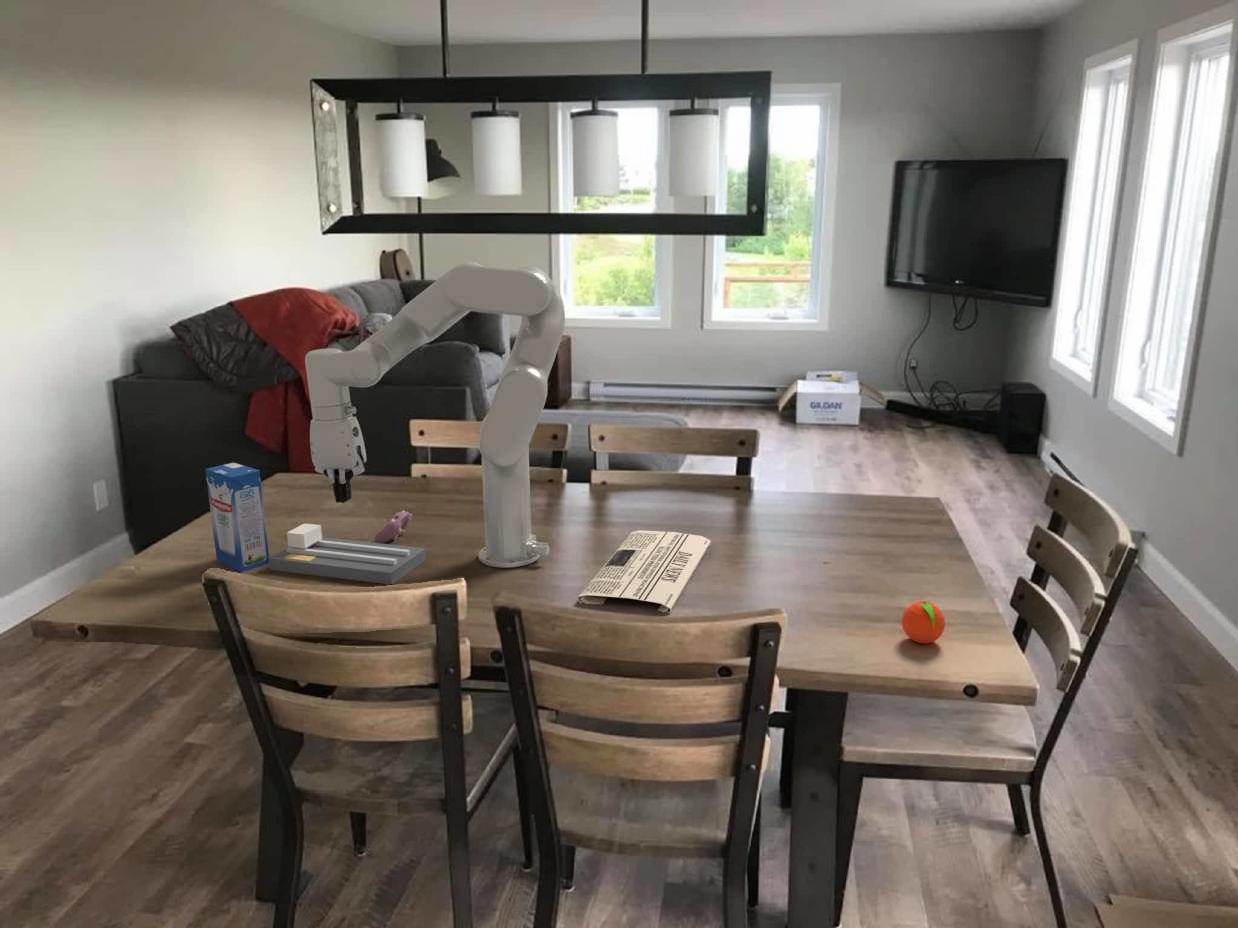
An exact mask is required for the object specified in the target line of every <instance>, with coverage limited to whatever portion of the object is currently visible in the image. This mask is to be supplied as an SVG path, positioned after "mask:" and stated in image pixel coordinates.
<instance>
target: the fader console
mask: <svg viewBox="0 0 1238 928" xmlns="http://www.w3.org/2000/svg"><path fill="white" fill-rule="evenodd" d="M425 561H427V548H424V547H416V546H406V545H398V544H388V543H376V542H372V541H371V542H370V541H361V540H351V539H343V538H334V537H327V536H326V537H324V536H322V539H321V540H319V541H317V542H316V543H314V544H312V545H310V547H308V548H297V547H286V548H285V549H283V550H281V551H280V552H279V551H278V553H276V554H275V553H274V555H271V556H269V564H268V565H269V570H270V571H276V572H286V573H293V574H301V575H308V576H309V575H310V576H318V577H325V578H333V579H334V578H335V579H343V580H350V581H359V582H366V583H373V584H374V583H375V584H383V585H390V584H392V585H394V584H395V583H396V582H397V581H399V580H401V579H402V578H403V577H405V576H406V575H407V574H409V573H411V572H412V571H414V569H416V568H417V567H419V566H420V565H422V564H423V563H424V562H425Z"/></svg>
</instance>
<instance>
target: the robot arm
mask: <svg viewBox="0 0 1238 928" xmlns="http://www.w3.org/2000/svg"><path fill="white" fill-rule="evenodd" d="M470 312H477V313H483V314H496V315H508V316H516V317H517V316H519V317H521V322H520V326H519V329H518V332H517V334H516V337H515V341H514V344H513V347H512V349H511V351H510V355H509V357H508V359H507V362H506V364H505V366H504V368H503V369H502V371H501V373H500V376H499V378H498V384H497V386H496V390H495V393H494V396H493V399H492V401H491V404H490V407H489V409H488V412H487V414H486V415H485V416H484V418H483V420H482V422H481V423H480V428H479V434H478V440H477V444H478V449H479V452H480V454H481V466H482V467H481V472H482V474H481V475H482V497H483V518H484V537H485V546H484V547H483V548H482V549H481V550H479V552H478V560H479V562H480V563H482V564H484V565H486V566H489V567H493V568H502V569H505V568H509V569H510V568H518V567H524V566H526V565H530V564H532V563H535V562H536V561H537V560H538V559H539V558H540V556H549V555H550V551H551V550H550V546H549V543H548V542H543V541H542V542H540V541H538V540H537V535H536V534H533V533H532V518H531V517H532V515H531V513H532V512H531V489H530V487H531V483H530V479H531V478H530V454H529V453H530V449H529V448H530V447H529V445H530V443H531V441H532V438H533V435H534V433H535V431H536V428H537V425H538V422H539V421H540V417H541V416H542V413H543V411H544V407H545V403H546V401H547V397H548V380H549V376H550V373H551V370H552V367H553V364H554V362H555V360H556V355H557V354H558V351H559V347H560V344H561V341H562V338H563V334H564V329H565V322H566V321H565V319H566V314H565V305H564V302H563V298H562V295H561V293H560V290H559V289H558V287H557V286H556V284H555V283H554V282H553V280H552V279H551V277H549V275H548V274H546V272H545V271H543V270H542V269H540V268H538V267H536V266H531V265H527V266H526V265H525V266H522V267H520V268H518V269H511V268H502V267H498V268H497V267H490V266H483V265H481V264H479V263H478V262H475V261H472V260H465V261H462V262H459V263H458V264H455V265H454V266H453V267H452V268H450V269H449V270H448V271H447V272H445V273H444V274H443V275H442V276H441V277H439V278H438V279H437V280H435V281H434V282H433V283H431V284H430V285H429V286H428V287H427V288H425V289H424V290H423V291H422V292H420V293H419V294H417V296H415V297H414V298H413V299H411V300H410V301H409V302H408V303H406V304H405V305H404V306H403V307H402V308H401V309H400V310H399V312H398V313H397V314H395V316H394V317H392V319H390V320H389V321H387V322H386V323H385V324H384V325H383V326H381V327H380V328H379V329H378V330H376V331H375V332H373V334H371V335H369V337H367V338H366V339H365V340H363V341H362V342H361V343H360V344H358V345H357V346H356V347H355V348H354V349H351V350H348V351H347V350H346V351H342V349H338V348H330V347H329V348H318V349H314V350H310V351H308V352H307V353H306V355H305V357H304V363H305V371H306V378H307V384H308V385H307V386H308V393H309V400H310V407H311V408H310V409H311V414H312V415H311V416H312V419H311V420H310V426H309V445H310V455H311V460H312V463H313V464H312V465H313V466H314V470H315V472H317V473H318V474H322V475H325V477H327V478H328V479H329V480H328V481H329V483H330V484H332V488H333V496H334V497H335V502H336V503H341V504H342V503H343V504H345V503H346V502H348V501H350V500H351V499H352V487H351V481H352V480H353V478H354V476H356V475H360V474H362V473H364V472H365V470H366V469H365V467H364V464H365V463H367V453H366V447H365V441H364V438H363V437H364V436H363V433H362V430H361V426H360V424H359V421H358V419H357V416H353V415H355V414H356V413H357V408H356V406H353V405H352V402H351V396H350V388H349V387H353V388H354V387H355V388H368V387H371V386H372V387H373V386H374V385H376V384H377V383H378V382H379V381H380V380H381V379H382V377H384V375H385V374H386V373H387V372H388V371H389V370H390V369H391V368H393V367H394V366H395V365H397V364H398V363H400V361H402V360H403V359H404V358H405V357H406V356H408V355H410V354H411V353H412V352H413V351H415V350H416V349H418V348H419V347H422V346H423V345H425V344H428V343H431V342H433V341H434V340H435V339H437V338H439V336H441V335H442V334H443V333H445V332H446V331H447V330H448V329H450V328H451V327H452V326H453V325H455V324H456V323H457V322H459V321H460V320H461V319H462V318H463V317H466V315H467V314H469V313H470Z"/></svg>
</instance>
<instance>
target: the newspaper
mask: <svg viewBox="0 0 1238 928" xmlns="http://www.w3.org/2000/svg"><path fill="white" fill-rule="evenodd" d="M711 542H712V540H710V539H709V538H707V537H705V536H702V535H697V534H690V533H684V532H683V533H681V532H676V531H659V530H658V531H657V530H641V529H639V530H635V531H631V532H630V533H629V535H628V537H626V539H624V541H623V542H622V543H621V544H620V546H619V547H618V548H617V549H616V550H615V552H614V553H613V554H612V555H611V556H610V557H609V559H608V560H607V562H606V563H604V564H603V566H602V567H601V568H600V570H599V571H598V572H597V573H596V575H595V576H594V577H593V578H592V579H591V580H590V582H589V583H588V584H587V586H585V588H584V589H583V590H582V591H581V593H580V594H579V595H578V596H577V602H578V603H580V604H581V605H582V604H583V603H584V604H585V605H603V604H604V603H605V602H606V600H607V599H608V598H609V597H610V598H619V599H630V600H638V601H643V602H644V601H645V602H650V603H656V604H659V605H660V606H659V607H658V608H657V611H658V612H659V611H660V612H661V613H665V614H671V613H672V610H673V609H674V607H675V605H676V603H677V602H678V600H679V599H680V596H681V595H682V593H683V592H684V590H685V588H686V587H687V585H688V583H689V582H690V580H691V578H692V576H693V575H694V573H695V571H696V569H697V568H698V566H699V564H700V562H701V561H702V560H703V557H704V556H705V554H706V553H707V551H708V549H709V548H710V545H711Z"/></svg>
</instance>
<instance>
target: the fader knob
mask: <svg viewBox="0 0 1238 928" xmlns="http://www.w3.org/2000/svg"><path fill="white" fill-rule="evenodd" d="M286 536H287V546H288V547H297V548H308V547H310V545H312V544H314V543H316V542H317V541H319V540H321V539H322V537H323V534H322V525H321V524H313V523H305V522H304V523H303V524H301V525H298V526H297V527H294V528H293V529H291V530H289V531H288V532H286ZM288 547H287V548H288Z"/></svg>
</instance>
